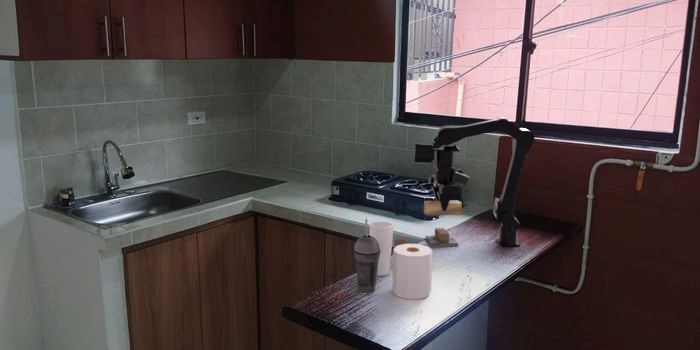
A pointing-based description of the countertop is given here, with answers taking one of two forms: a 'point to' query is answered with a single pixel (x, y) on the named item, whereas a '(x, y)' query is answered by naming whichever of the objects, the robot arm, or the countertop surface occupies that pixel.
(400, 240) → the wooden block
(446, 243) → the balance stand
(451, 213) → the oak bar
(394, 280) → the toilet paper
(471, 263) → the countertop surface
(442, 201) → the robot arm
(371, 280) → the beverage cup
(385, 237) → the drinking glass
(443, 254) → the countertop surface
